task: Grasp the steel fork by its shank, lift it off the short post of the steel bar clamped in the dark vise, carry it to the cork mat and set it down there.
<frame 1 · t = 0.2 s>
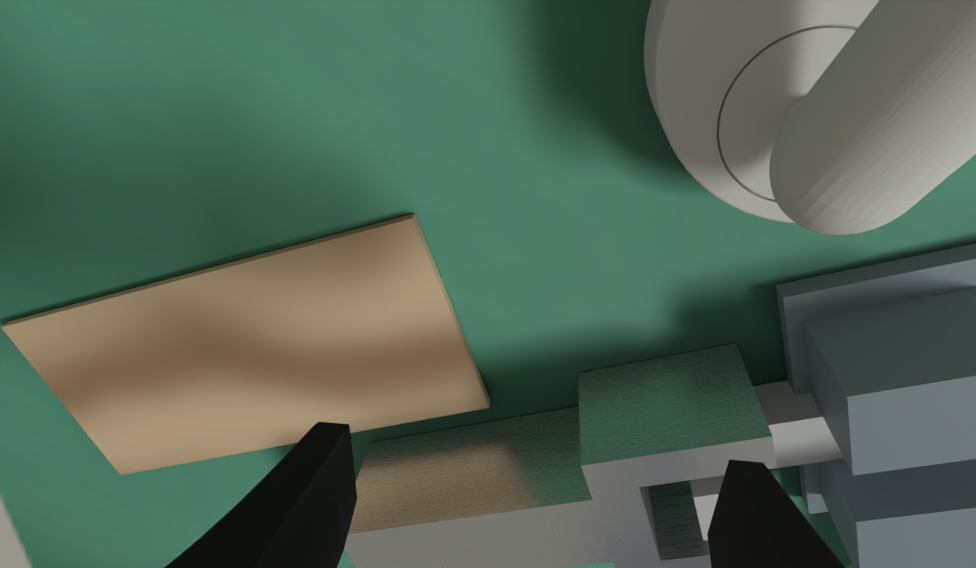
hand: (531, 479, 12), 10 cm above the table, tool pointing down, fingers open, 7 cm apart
wall hook: (821, 7, 17), on the table
cork mat: (247, 360, 25), on the table
vise: (704, 416, 24), on the table
steel fork: (704, 415, 24), resting on vise
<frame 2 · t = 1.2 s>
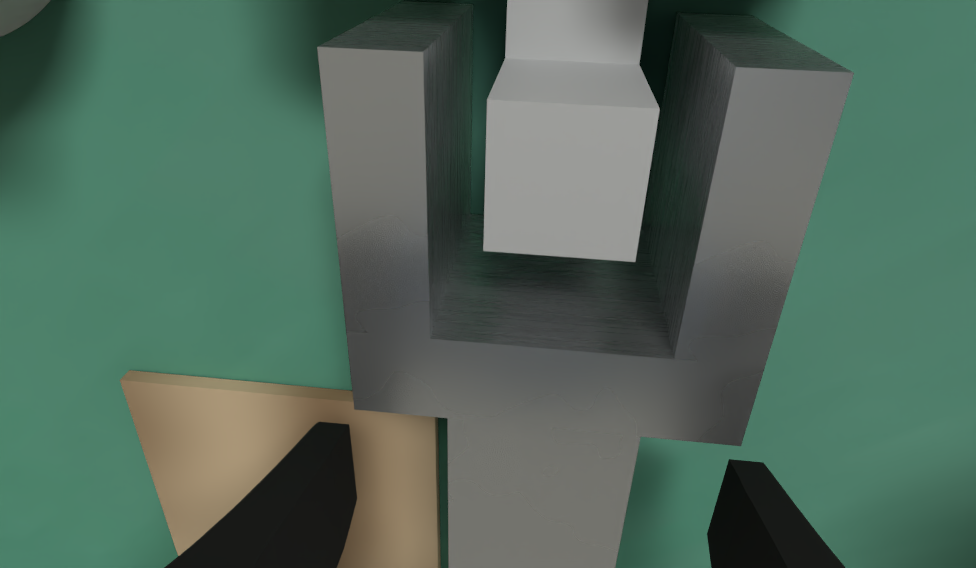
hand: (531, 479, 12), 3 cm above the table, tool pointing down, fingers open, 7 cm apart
vise: (566, 96, 12), on the table
steel fork: (566, 96, 12), resting on vise
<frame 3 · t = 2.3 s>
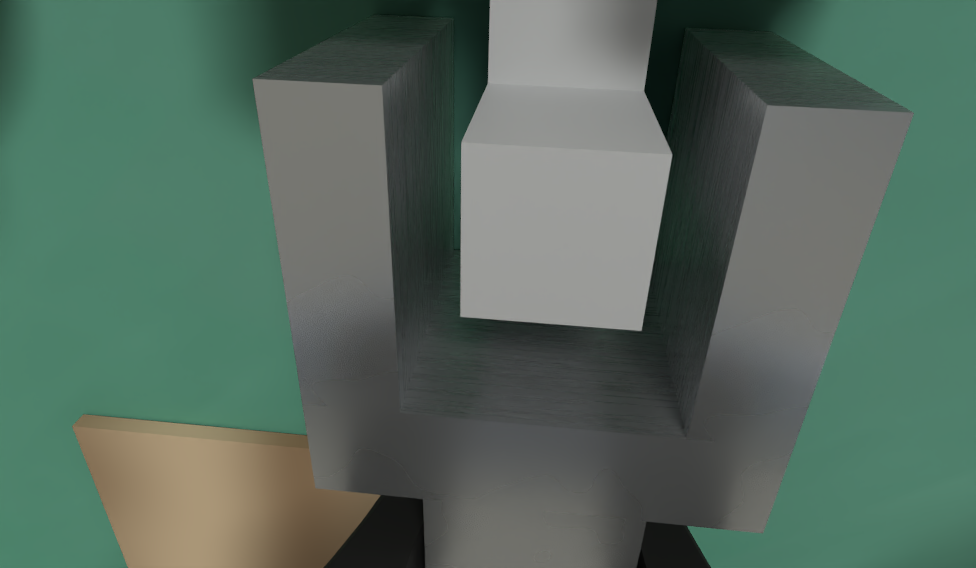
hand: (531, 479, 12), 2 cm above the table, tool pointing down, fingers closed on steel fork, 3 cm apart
vise: (559, 121, 10), on the table
steel fork: (559, 121, 10), resting on vise, touching gripper
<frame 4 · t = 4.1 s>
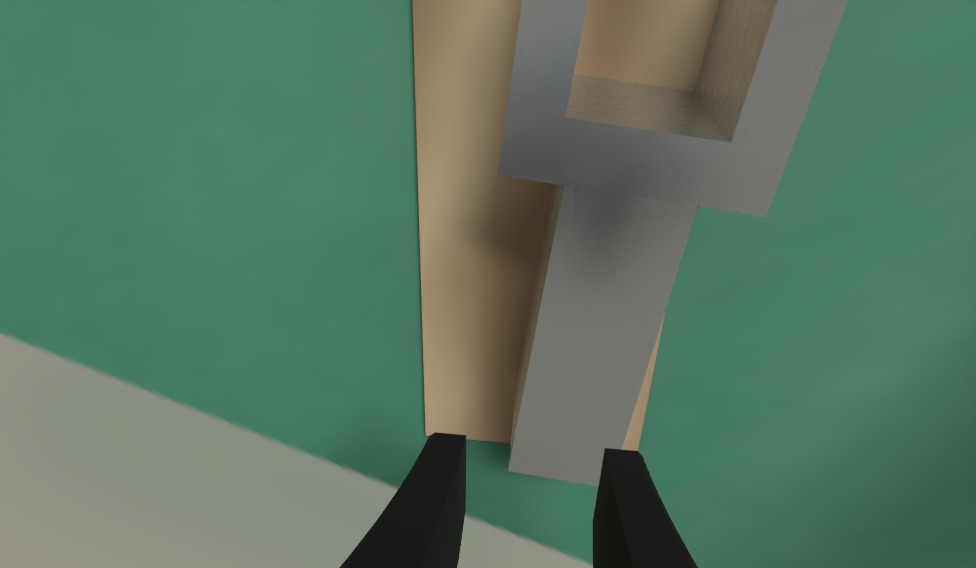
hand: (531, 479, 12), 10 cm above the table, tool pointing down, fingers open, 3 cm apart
cork mat: (546, 238, 20), on the table
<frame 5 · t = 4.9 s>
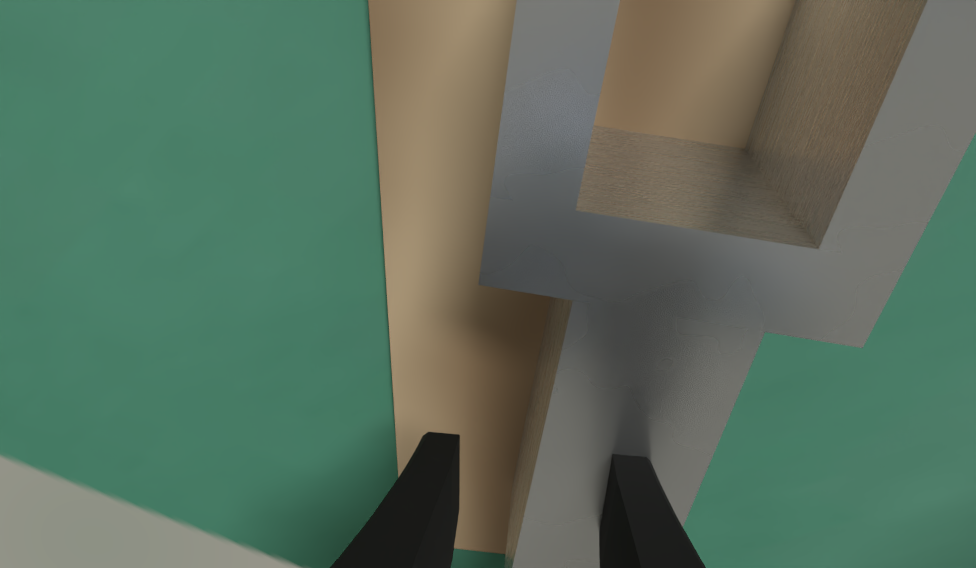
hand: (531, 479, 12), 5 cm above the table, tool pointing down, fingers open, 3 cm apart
cork mat: (548, 322, 16), on the table
steel fork: (694, 3, 12), resting on cork mat, touching gripper
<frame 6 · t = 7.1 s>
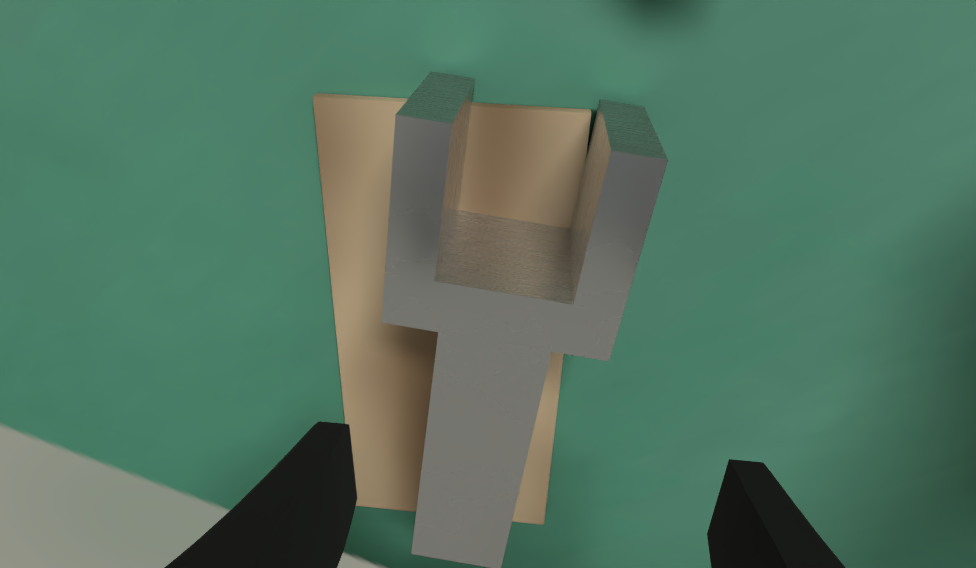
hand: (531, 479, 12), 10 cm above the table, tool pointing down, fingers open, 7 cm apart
cork mat: (450, 341, 23), on the table
steel fork: (528, 141, 19), resting on cork mat
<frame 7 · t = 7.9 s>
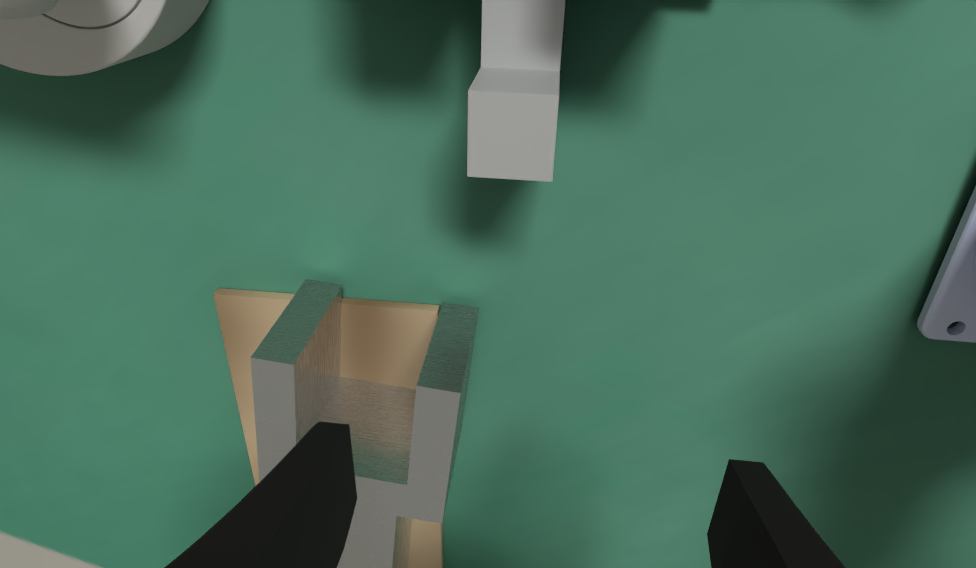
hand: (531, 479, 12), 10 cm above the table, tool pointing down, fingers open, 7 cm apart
cork mat: (347, 469, 27), on the table
vise: (522, 90, 18), on the table
steel fork: (389, 329, 23), resting on cork mat
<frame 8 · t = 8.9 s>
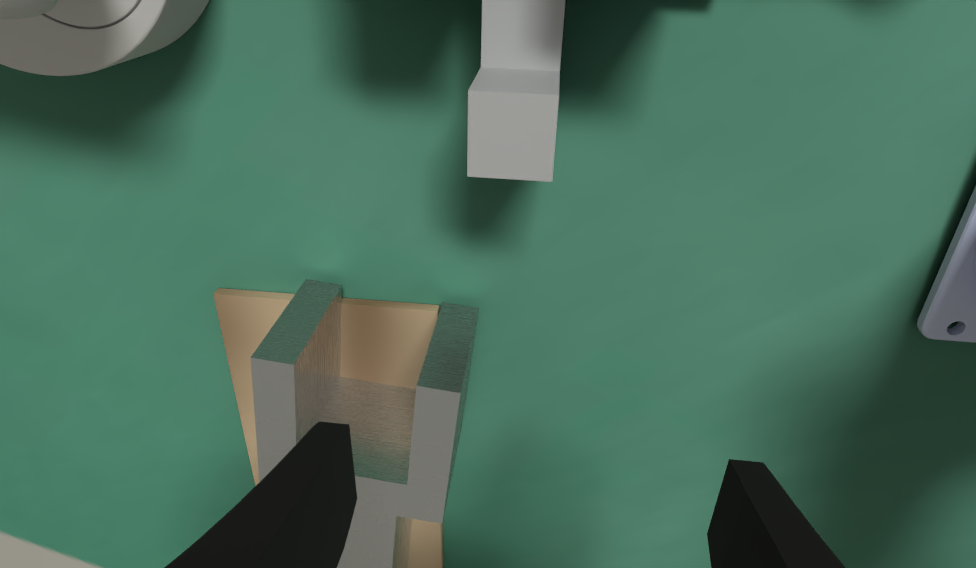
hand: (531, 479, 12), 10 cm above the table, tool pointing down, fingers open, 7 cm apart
cork mat: (347, 469, 27), on the table
vise: (522, 90, 18), on the table
steel fork: (389, 329, 23), resting on cork mat
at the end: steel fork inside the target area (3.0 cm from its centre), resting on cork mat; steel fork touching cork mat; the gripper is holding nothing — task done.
